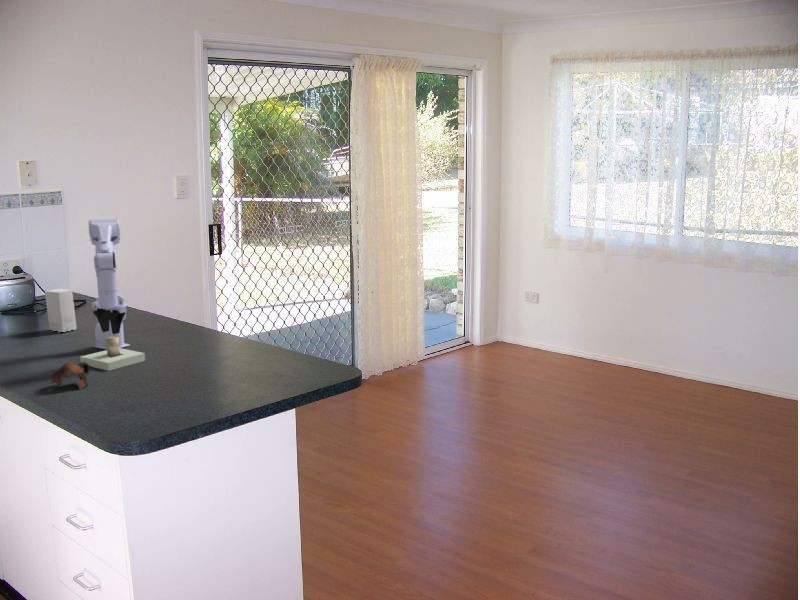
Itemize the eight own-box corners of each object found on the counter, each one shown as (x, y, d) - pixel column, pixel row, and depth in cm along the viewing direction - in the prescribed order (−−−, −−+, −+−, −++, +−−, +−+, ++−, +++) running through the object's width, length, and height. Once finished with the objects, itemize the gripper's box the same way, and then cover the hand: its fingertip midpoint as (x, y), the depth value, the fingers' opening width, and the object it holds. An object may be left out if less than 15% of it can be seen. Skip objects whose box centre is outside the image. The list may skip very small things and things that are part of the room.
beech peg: (105, 362, 266) (103, 338, 265) (115, 360, 270) (113, 336, 268) (113, 364, 264) (111, 340, 263) (123, 361, 268) (121, 337, 266)
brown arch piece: (75, 394, 235) (58, 370, 234) (57, 404, 240) (40, 380, 239) (103, 373, 245) (87, 350, 244) (85, 382, 250) (69, 360, 249)
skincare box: (77, 330, 313) (73, 289, 310) (61, 333, 308) (58, 292, 305) (63, 327, 317) (59, 287, 315) (47, 331, 312) (44, 290, 309)
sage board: (80, 364, 265) (80, 356, 264) (117, 354, 276) (116, 347, 276) (108, 370, 257) (108, 362, 257) (145, 360, 269) (144, 353, 268)
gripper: (82, 290, 263) (85, 332, 266) (111, 294, 255) (114, 337, 258) (101, 287, 269) (104, 327, 271) (130, 291, 261) (133, 333, 263)
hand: (110, 332), depth 265 cm, fingers open, 5 cm apart
